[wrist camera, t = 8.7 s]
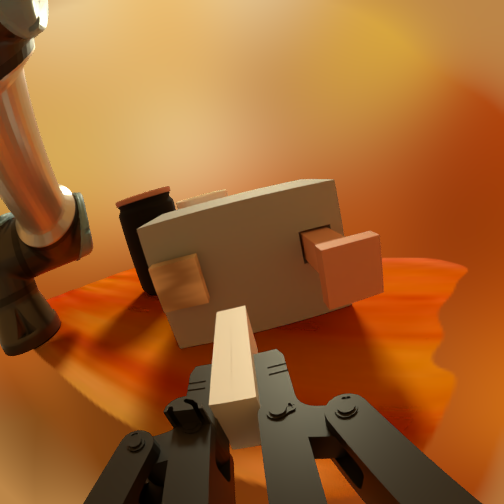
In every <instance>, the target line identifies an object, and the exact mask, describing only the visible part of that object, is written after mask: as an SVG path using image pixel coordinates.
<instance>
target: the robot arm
mask: <svg viewBox="0 0 504 504" xmlns="http://www.w3.org/2000/svg"><path fill="white" fill-rule="evenodd" d="M48 10H49V9H48V0H0V197H1V199H2V200H3V202H4V203H5V204H6V206H7V207H8V209H9V210H10V211H11V212H10V213H6V214H3V215H1V216H0V344H1V346H2V348H3V350H4V352H5V354H7V355H8V356H16V355H20V354H23V353H25V352H28V351H30V350H32V349H34V348H36V347H37V346H39V345H41V344H42V343H43V342H45V341H46V340H48V339H49V338H50V337H51V336H52V335H53V334H54V333H55V332H56V331H57V330H58V329H59V327H60V325H61V321H60V319H59V317H58V315H57V313H56V311H55V310H54V309H52V308H51V307H50V305H49V304H48V302H47V301H46V299H45V298H44V297H43V295H42V294H41V293H40V291H39V290H38V288H37V285H36V283H35V280H34V277H36V276H38V275H40V274H43V273H45V272H48V271H50V270H53V269H55V268H57V267H60V266H62V265H65V264H68V263H70V262H72V261H75V260H76V261H78V260H80V258H82V257H84V256H87V255H88V254H90V253H91V252H92V249H93V242H92V237H91V232H90V229H89V222H88V218H87V213H86V208H85V204H84V199H83V196H82V194H81V193H71V192H70V191H69V190H68V189H67V188H66V187H64V186H63V185H60V184H58V183H57V180H56V178H55V175H54V173H53V170H52V167H51V165H50V162H49V159H48V157H47V154H46V151H45V148H44V145H43V142H42V139H41V136H40V132H39V129H38V126H37V123H36V119H35V115H34V112H33V108H32V104H31V100H30V96H29V92H28V88H27V83H26V78H25V73H24V65H25V64H26V62H27V61H28V59H29V57H30V56H31V55H32V53H33V51H34V49H35V42H34V38H35V37H36V36H37V35H38V34H39V33H41V32H43V31H44V30H45V28H46V26H47V22H48ZM164 414H165V415H166V417H167V418H168V420H169V421H170V423H171V424H172V426H173V427H174V428H173V430H171V431H169V432H166V433H163V434H160V435H157V436H154V437H152V435H151V434H150V433H149V432H146V431H142V430H137V431H134V432H131V433H129V434H128V435H126V436H125V437H124V438H123V439H122V441H121V442H120V444H119V446H118V447H117V449H116V451H115V452H114V454H113V455H112V457H111V459H110V460H109V462H108V464H107V466H106V467H105V469H104V470H103V472H102V474H101V475H100V477H99V479H98V480H97V482H96V483H95V485H94V487H93V488H92V490H91V492H90V493H89V495H88V497H87V498H86V500H85V502H84V504H236V502H235V482H234V461H233V458H232V456H231V454H230V452H229V443H230V445H231V447H232V449H240V448H247V447H253V446H258V445H261V446H262V454H263V462H264V470H265V478H266V485H267V493H268V500H269V504H327V501H326V497H325V494H324V490H323V487H322V484H321V480H320V477H319V473H318V470H317V466H316V463H315V459H327V458H331V460H332V461H333V462H334V464H335V465H336V466H337V468H338V469H339V470H340V472H341V473H342V474H343V476H344V477H345V478H346V479H347V481H348V482H349V483H350V485H351V486H352V487H353V488H354V490H355V491H356V492H357V493H358V495H359V496H360V497H361V498H362V500H363V501H364V502H365V503H366V504H482V503H480V502H479V501H478V500H477V499H476V498H474V497H473V496H472V495H471V494H470V493H469V492H467V491H466V490H465V489H464V488H463V487H461V486H460V485H459V484H458V483H457V482H456V481H454V480H453V479H452V478H451V477H450V476H449V475H447V474H446V473H445V472H444V471H443V470H442V469H440V468H439V467H438V466H437V465H436V464H435V463H434V462H433V461H432V460H430V459H429V458H428V457H427V456H426V455H425V454H424V453H423V452H421V451H420V450H419V449H418V448H417V447H416V446H415V445H414V444H413V443H411V442H410V441H409V440H408V439H407V438H406V437H405V436H404V435H403V434H402V433H401V432H399V431H398V430H397V429H396V428H395V427H394V426H393V425H392V424H391V423H390V422H389V421H388V420H386V419H385V418H384V417H383V416H382V415H381V414H380V413H379V412H378V411H377V410H376V409H375V408H374V407H373V406H371V405H370V404H369V403H368V402H367V401H366V400H365V399H364V398H362V397H361V396H359V395H356V394H351V393H350V394H342V395H339V396H336V397H334V398H333V399H332V400H330V401H329V402H328V404H327V405H325V406H310V405H306V404H304V403H302V402H300V401H299V400H298V399H297V398H296V396H295V393H294V389H293V386H292V383H291V379H290V376H289V372H288V369H287V366H286V362H285V359H284V355H283V354H282V353H281V352H280V351H278V350H277V349H274V350H270V351H266V352H262V353H258V349H257V345H256V342H255V338H254V335H253V331H252V328H251V324H250V320H249V317H248V313H247V310H246V306H241V307H237V308H232V309H228V310H224V311H219V312H217V314H216V324H215V335H214V346H213V358H212V364H208V365H202V366H197V367H195V369H194V370H193V372H192V373H191V374H190V379H189V385H188V392H187V396H184V397H180V398H177V399H175V400H173V401H171V402H170V403H169V404H168V405H167V406H166V408H165V410H164Z"/></svg>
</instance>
